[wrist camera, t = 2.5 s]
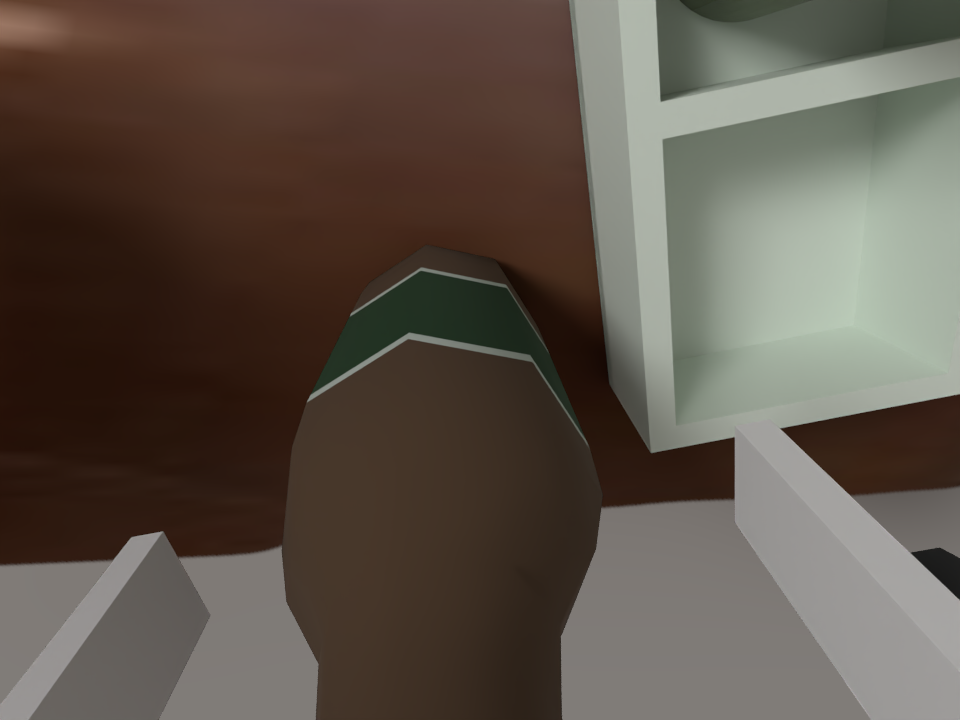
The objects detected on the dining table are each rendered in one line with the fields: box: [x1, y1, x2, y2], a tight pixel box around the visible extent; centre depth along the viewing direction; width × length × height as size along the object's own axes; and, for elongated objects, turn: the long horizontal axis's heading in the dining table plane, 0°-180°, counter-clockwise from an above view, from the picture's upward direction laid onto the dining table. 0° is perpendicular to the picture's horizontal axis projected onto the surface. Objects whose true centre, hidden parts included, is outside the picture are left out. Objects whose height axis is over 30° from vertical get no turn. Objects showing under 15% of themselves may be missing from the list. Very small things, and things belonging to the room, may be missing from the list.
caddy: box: [569, 0, 960, 453], centre depth 18 cm, size 12×23×6 cm, turn 11°
